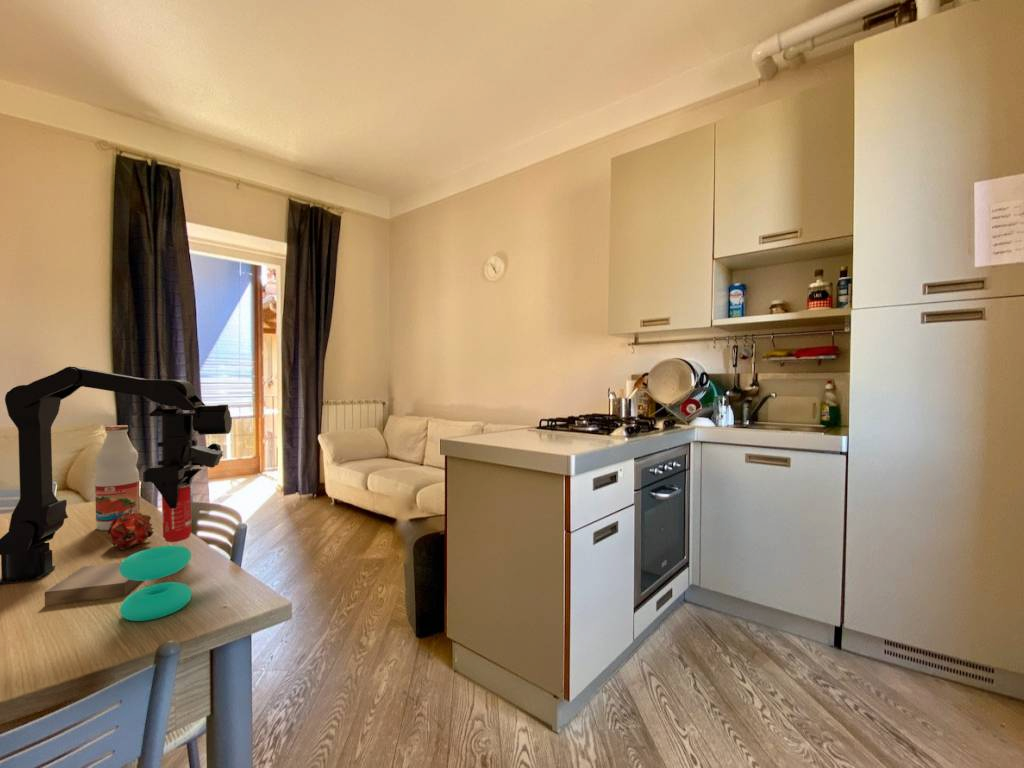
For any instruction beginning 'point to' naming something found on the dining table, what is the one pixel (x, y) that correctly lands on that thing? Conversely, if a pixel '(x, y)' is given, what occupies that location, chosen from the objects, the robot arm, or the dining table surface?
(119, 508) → the fruit juice
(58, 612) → the dining table surface
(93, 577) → the walnut plinth
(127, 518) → the dragon fruit
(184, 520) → the beverage can
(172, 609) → the donuts
